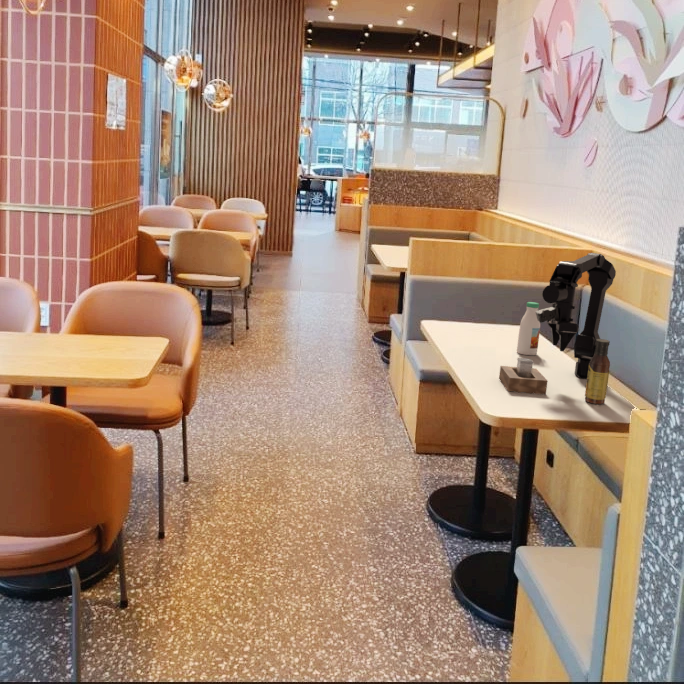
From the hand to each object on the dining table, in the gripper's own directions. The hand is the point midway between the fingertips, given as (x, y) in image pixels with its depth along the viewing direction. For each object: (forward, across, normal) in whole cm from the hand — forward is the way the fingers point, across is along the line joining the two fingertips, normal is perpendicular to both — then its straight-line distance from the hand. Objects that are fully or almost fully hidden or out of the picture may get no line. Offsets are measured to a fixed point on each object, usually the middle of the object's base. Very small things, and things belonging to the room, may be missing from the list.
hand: (558, 348), depth 274 cm
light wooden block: (+13, +3, -11) cm, 17 cm away
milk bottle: (+13, -50, +2) cm, 52 cm away
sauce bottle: (+13, +16, +9) cm, 23 cm away
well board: (+13, +3, -11) cm, 17 cm away
